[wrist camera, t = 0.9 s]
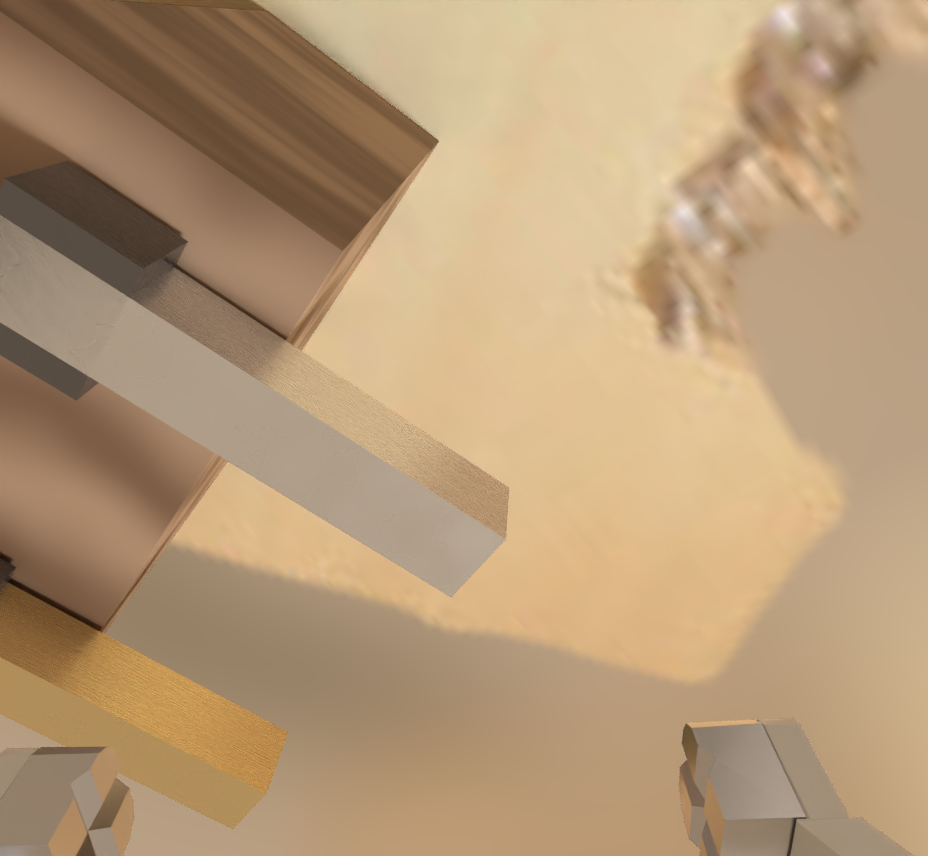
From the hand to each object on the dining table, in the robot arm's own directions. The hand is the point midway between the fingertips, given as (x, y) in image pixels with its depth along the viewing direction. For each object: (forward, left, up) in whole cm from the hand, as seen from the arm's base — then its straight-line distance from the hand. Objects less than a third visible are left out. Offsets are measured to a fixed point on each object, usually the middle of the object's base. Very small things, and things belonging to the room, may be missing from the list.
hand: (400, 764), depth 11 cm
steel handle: (+5, -5, -15) cm, 17 cm away
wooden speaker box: (+13, -11, -41) cm, 45 cm away
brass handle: (+21, -5, -15) cm, 26 cm away
